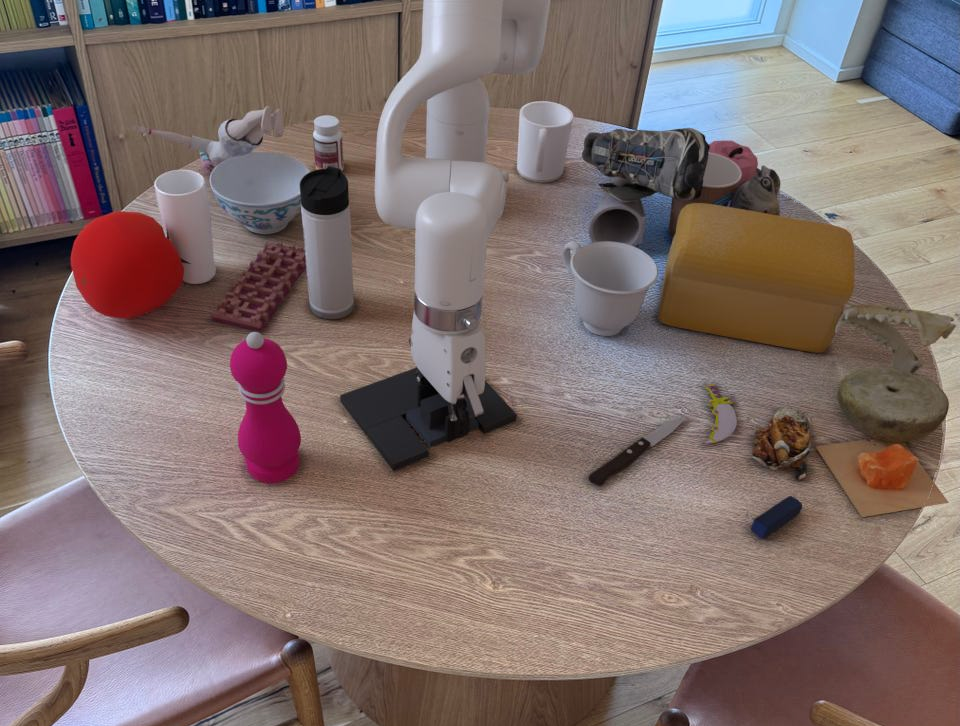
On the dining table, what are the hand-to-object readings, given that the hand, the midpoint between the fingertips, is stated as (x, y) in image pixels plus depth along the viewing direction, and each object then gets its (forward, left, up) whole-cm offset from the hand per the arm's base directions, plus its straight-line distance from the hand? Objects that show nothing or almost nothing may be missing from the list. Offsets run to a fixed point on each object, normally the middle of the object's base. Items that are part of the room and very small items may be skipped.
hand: (442, 419), depth 117 cm
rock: (-43, +33, -4) cm, 54 cm away
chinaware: (0, -53, -2) cm, 53 cm away
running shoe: (-54, -21, +10) cm, 59 cm away
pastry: (-37, +24, -3) cm, 45 cm away
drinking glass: (+15, -45, -2) cm, 47 cm away
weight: (-52, +27, +4) cm, 59 cm away
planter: (-51, -31, -2) cm, 60 cm away
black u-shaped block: (0, -4, -2) cm, 4 cm away
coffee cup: (-58, -18, -2) cm, 61 cm away
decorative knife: (-35, +17, -1) cm, 39 cm away
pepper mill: (+21, -5, -2) cm, 22 cm away
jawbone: (-62, +17, +5) cm, 64 cm away
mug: (-47, -46, -2) cm, 66 cm away
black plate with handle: (0, 0, -1) cm, 1 cm away
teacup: (-31, -9, -2) cm, 32 cm away
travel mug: (+1, -29, -2) cm, 29 cm away
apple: (-71, -26, -2) cm, 75 cm away
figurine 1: (-1, -48, +18) cm, 51 cm away
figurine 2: (-60, -12, +1) cm, 61 cm away
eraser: (-30, +32, +1) cm, 44 cm away
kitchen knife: (-20, +16, -1) cm, 26 cm away
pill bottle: (-16, -63, -2) cm, 65 cm away
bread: (-51, +1, -2) cm, 51 cm away
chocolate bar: (+7, -37, -2) cm, 38 cm away
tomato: (+31, -41, +5) cm, 52 cm away
